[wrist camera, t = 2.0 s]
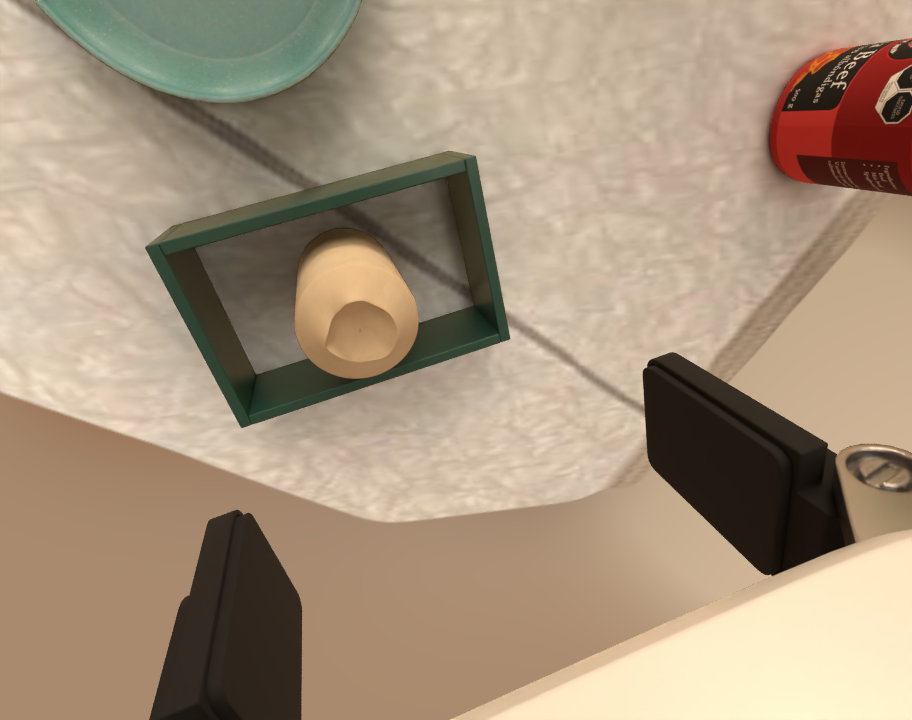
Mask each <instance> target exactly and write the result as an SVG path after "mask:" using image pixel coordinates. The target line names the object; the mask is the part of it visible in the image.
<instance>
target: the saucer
mask: <svg viewBox="0 0 912 720" xmlns="http://www.w3.org/2000/svg"><path fill="white" fill-rule="evenodd" d="M33 1H34V2H35V3H36V4H37V6H38V7H39V8H40V9H41V10H42V11H43V12H44V13H45V14H46V15H47V16H48V17H49V18H50V19H51V20H52V21H53V22H54V23H55V24H56V25H57V26H58V27H59V28H60V29H61V30H62V31H63V32H65V33H66V34H67V35H68V36H69V37H70V38H72V39H73V40H74V41H75V42H76V43H78V44H79V45H80V46H81V47H82V48H84V49H85V50H86V51H87V52H89V53H90V54H91V55H93V56H94V57H96V58H97V59H99V60H100V61H102V62H103V63H105V64H106V65H108V66H109V67H111V68H112V69H114V70H116V71H117V72H119V73H121V74H123V75H125V76H126V77H128V78H130V79H132V80H134V81H136V82H138V83H140V84H142V85H145V86H147V87H150V88H152V89H155V90H158V91H161V92H164V93H167V94H170V95H173V96H177V97H181V98H184V99H189V100H194V101H200V102H210V103H240V102H247V101H253V100H258V99H263V98H266V97H269V96H272V95H275V94H278V93H280V92H282V91H284V90H286V89H288V88H290V87H292V86H294V85H296V84H298V83H299V82H301V81H302V80H304V79H305V78H307V77H308V76H309V75H311V74H312V73H313V72H314V71H315V70H317V69H318V68H319V67H320V66H321V65H322V64H323V63H324V62H325V61H326V60H327V59H328V58H329V57H330V56H331V55H332V53H333V52H334V51H335V49H336V48H337V47H338V45H339V44H340V43H341V41H342V40H343V39H344V37H345V36H346V34H347V32H348V31H349V29H350V27H351V25H352V23H353V22H354V20H355V18H356V15H357V13H358V11H359V8H360V5H361V3H362V0H33Z"/></svg>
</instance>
